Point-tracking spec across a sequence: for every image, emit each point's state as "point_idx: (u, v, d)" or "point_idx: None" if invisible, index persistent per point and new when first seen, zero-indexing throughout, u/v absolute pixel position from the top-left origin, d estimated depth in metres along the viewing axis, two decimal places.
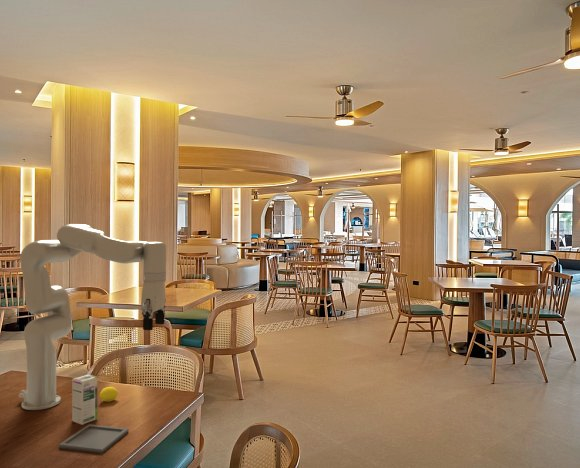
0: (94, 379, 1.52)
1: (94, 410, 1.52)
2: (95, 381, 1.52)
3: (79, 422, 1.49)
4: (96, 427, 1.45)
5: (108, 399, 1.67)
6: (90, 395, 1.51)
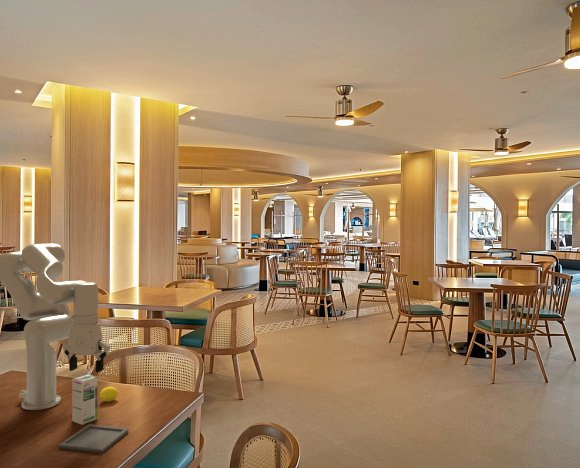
0: (94, 379, 1.52)
1: (94, 410, 1.52)
2: (95, 381, 1.52)
3: (79, 422, 1.49)
4: (96, 427, 1.45)
5: (108, 399, 1.67)
6: (90, 395, 1.51)
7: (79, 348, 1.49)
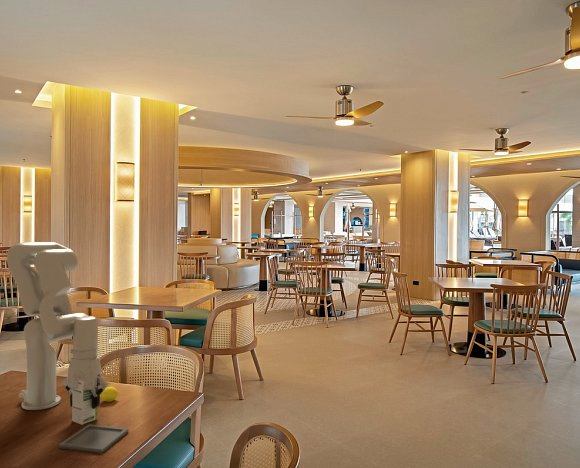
0: None
1: (94, 410, 1.52)
2: None
3: (79, 422, 1.49)
4: (96, 427, 1.45)
5: (108, 399, 1.67)
6: (90, 395, 1.51)
7: None
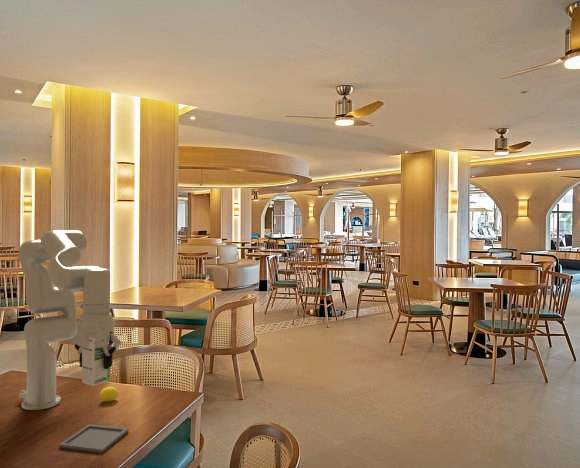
0: None
1: (106, 371, 1.38)
2: None
3: (90, 383, 1.35)
4: (96, 427, 1.45)
5: (108, 399, 1.67)
6: (102, 354, 1.37)
7: (88, 340, 1.35)
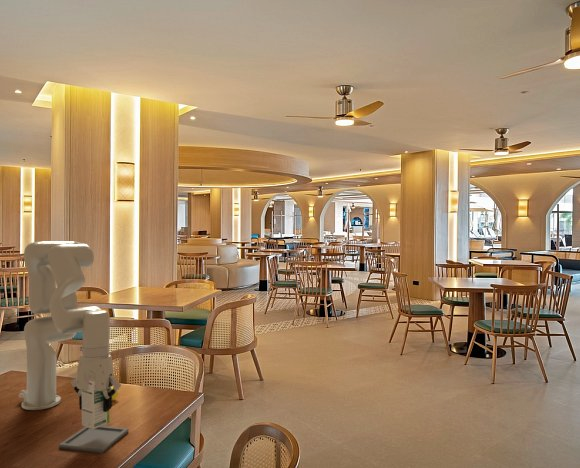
0: None
1: (106, 413, 1.38)
2: None
3: (89, 427, 1.35)
4: None
5: None
6: (102, 397, 1.37)
7: (88, 383, 1.35)
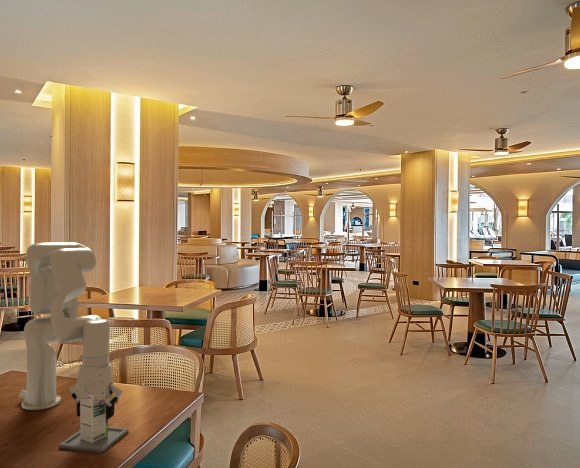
0: None
1: (104, 426, 1.38)
2: None
3: (88, 440, 1.35)
4: None
5: None
6: (101, 410, 1.37)
7: (88, 392, 1.35)
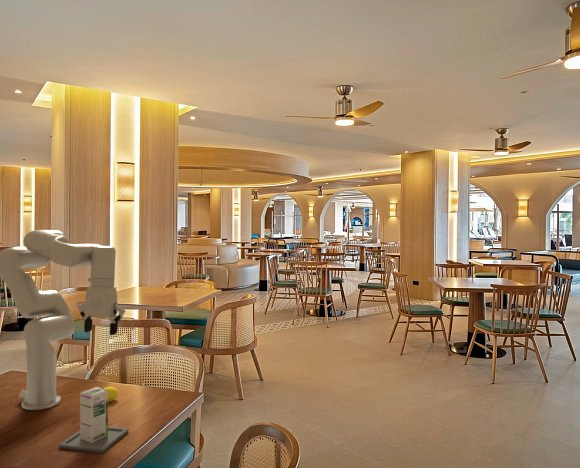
0: (104, 392, 1.38)
1: (104, 426, 1.38)
2: (105, 394, 1.39)
3: (88, 440, 1.35)
4: None
5: (108, 399, 1.67)
6: (101, 410, 1.37)
7: (94, 310, 1.50)
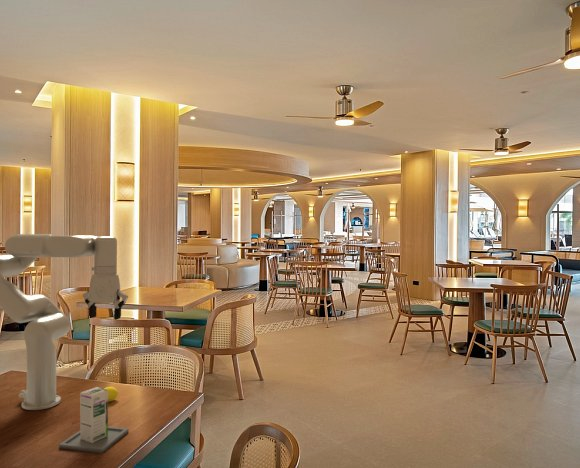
0: (104, 392, 1.38)
1: (104, 426, 1.38)
2: (105, 394, 1.39)
3: (88, 440, 1.35)
4: None
5: (108, 399, 1.67)
6: (101, 410, 1.37)
7: (99, 296, 1.60)
